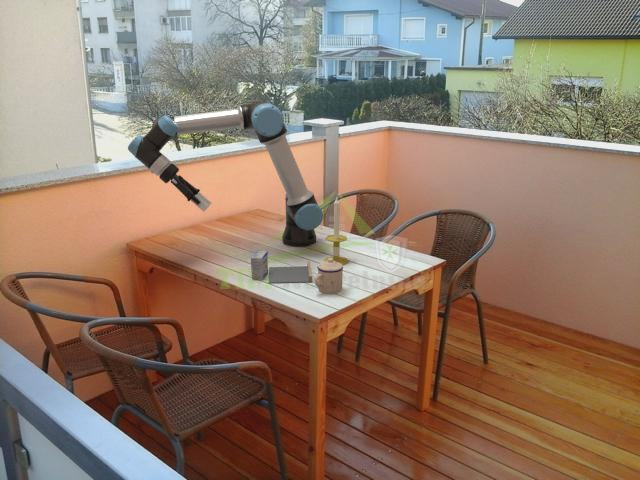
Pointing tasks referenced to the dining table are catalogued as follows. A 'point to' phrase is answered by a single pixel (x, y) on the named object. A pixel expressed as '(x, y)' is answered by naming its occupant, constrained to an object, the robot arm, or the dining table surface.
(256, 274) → the medicine box
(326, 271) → the teacup with lid
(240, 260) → the dining table surface
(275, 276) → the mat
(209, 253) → the dining table surface
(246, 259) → the dining table surface
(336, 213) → the candle
